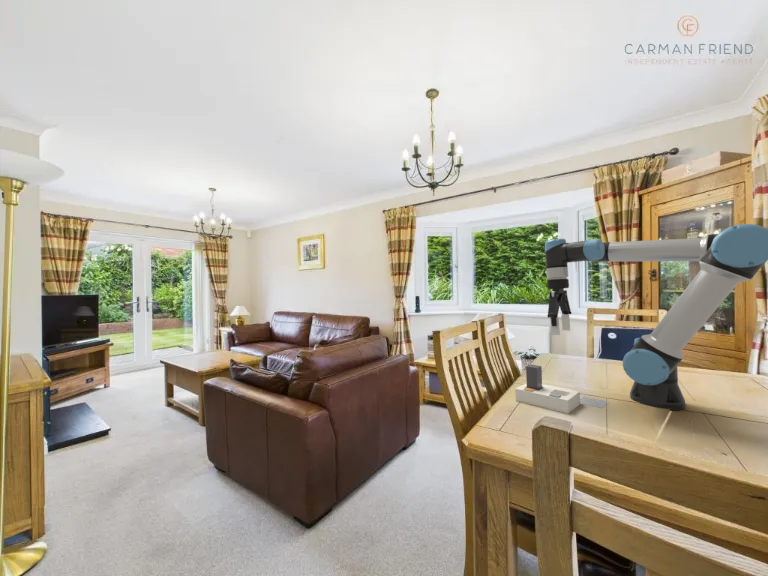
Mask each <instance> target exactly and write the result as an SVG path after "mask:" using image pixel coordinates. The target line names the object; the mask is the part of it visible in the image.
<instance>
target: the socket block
mask: <svg viewBox="0 0 768 576" xmlns="http://www.w3.org/2000/svg"><path fill="white" fill-rule="evenodd" d="M514 392H515V402H520V403H523V404H529V405H532V406H537V407H540V408H544V409H548V410H552V411H557V412H560V413H563V414H567V415H568V414H570V413H571V412H572V411H573V410H575V409H576V408H578V407H579V406H580V405H581V403H580V399H581V391H579V390H574V389H569V388H564V387H559V386H554V385H551V384H550V385H549V384H544V383H542V389H541V390H539V391H538V390H535V389H531V388H527V382H525V383H524V384H522V385H520V386H517V387H516V388H515V389H514Z"/></svg>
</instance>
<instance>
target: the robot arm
mask: <svg viewBox="0 0 768 576" xmlns="http://www.w3.org/2000/svg"><path fill="white" fill-rule="evenodd" d="M544 257H545V258H544V259H545V272H544V273H545V274H546V278H547V281H546V284H547V285H546V286H547V287H546V288H547V289H548V290H552V291H549V292H548V293H549V298H548V309H547V315H546V316H547V318H549V319H550V320H549V321H550V334H551V335H552V336H553V335H554V336H560V335H561V334H560V332H561V331H560V318H559V317H558V316H559V312H561V314H560V315H561V328H562V329H561V330H562V331H567V332H568V331H571V324H570V323H571V321H570V315H572V311H571V306H570V302H569V297H568V290H565V289H568V288H570V281H569V279H568V278H569V267H568V263H576V262H592V263H601V262H602V263H603V262H605V263H606V262H608V263H609V262H698V263H699V267H700V270H699V271H698V273H696V275H695V276H694V278H693V279H692V280H691V281H690V282H689V284H688V285H687V287H686V288H685V289H684V290H683V292H682V293H681V294H680V295H679V297H678V298H677V299H676V301H675V302H674V303H673V304H672V306H670V309H669V310H668V311H667V312H666V313H665V315H664V316H663V317H662V319H661V320H660V322H659V323H658V324H657V325H656V327H655V328H654V329H653V331H651V333H648V334H643V335H641V336H640V337H636V338H634V342H633V347H632V348H631V349H630V350H628V351H627V353H625V354H624V356H623V359H622V367H623V370H624V373H625V374H626V375H627V376H628V377H629V378H630V379H631V380H632V381H633V384H632V386H631V389H630V391H629V398H630V399H631V400H632V401H634V402H636V403H639V404H641V405H644V406H648V407H652V408H659V409H666V410H667V409H669V411H682V410H685V409H686V408H685V407H686V400H685V397H684V395H683V393H682V391H681V388H680V386H679V382H678V380H679V377H678V376H679V375H678V365H679V363H681V361H682V360H683V359H684V358H685V356H684V353H683V350H684V348H685V347H686V345H688V343H690V341H691V340H692V338H693V337H694V336H695V335H696V334H697V333H698V332H699V331H700V329H701V328H702V327H703V326H704V324H705V323H706V322H707V321H708V320H709V319H710V317H712V315H713V314H714V313H715V311H717V309H718V308H719V307H720V305H721V304H722V303H723V302H725V300H726V299H727V297H728V296H729V295H730V294H731V293H732V291H733V290H735V288H736V286H738V284H740V283H744V282H749V281H751V280H752V279H753V278H754V276H755V275H757V273H758V272H759V271H760V269H762V267H763V266H764V265H765V263H767V261H768V228H767V227H764V226H761V225H757V224H751V223H750V224H749V223H742V224H736V225H735V224H734V225H733V226H730V227H726V228H725V229H723V230H721V231H720V232H719V233H713V234H706V235H704V237H697V238H675V239H674V238H673V239H653V240H634V241H633V240H632V241H629V240H628V241H607V242H604V241H603V240H602V239H600V238H596V239H595V238H593V239H591V238H590V239H586V240H585V239H584V240H580V241H579V240H578V241H574V242H573V241H572V242H567V240H566V239H565V238H556V239H555V238H554V239H549V240H546V241H545V243H544ZM559 310H560V311H559Z"/></svg>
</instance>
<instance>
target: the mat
mask: <svg viewBox="0 0 768 576" xmlns="http://www.w3.org/2000/svg"><path fill="white" fill-rule="evenodd" d="M607 404H609V401H607V400H601V399H596V398H592V397H587V396H583V397H580V405H586V406H591V407H595V408H600V409H603V408H604V407H605V406H606V405H607Z"/></svg>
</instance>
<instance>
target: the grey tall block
mask: <svg viewBox="0 0 768 576" xmlns="http://www.w3.org/2000/svg"><path fill="white" fill-rule="evenodd" d="M525 367H526V368H525V372H526V373H525V374H526V375H525V376H526V383H527V388H531V389H535V390H538V391H539V390H541V389H542V384H543V372H542V371H543V370H542V365H537V364H529V365H526V366H525Z"/></svg>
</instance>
